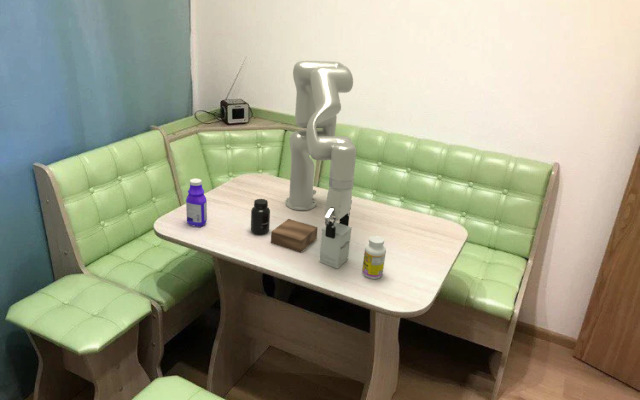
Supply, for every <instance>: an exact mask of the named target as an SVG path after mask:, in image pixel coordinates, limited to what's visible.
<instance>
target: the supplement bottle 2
mask: <svg viewBox="0 0 640 400" xmlns="http://www.w3.org/2000/svg"><path fill="white" fill-rule="evenodd" d="M384 244H385V239H384V238H383V237H381V236H378V235H371V236H370V237H369V239H368V243H367V244H366V245H365V246H364V253H363V255H364V256H363V263H362V270H361V272H362V273H361V274H363V276H364V277H366V278H368V279H372V280H375V279H377V280H378V279H379V278H381V277H382V276H383V274H384V273H383V272H384V266H385V261H386V260H385V259H386V252H387V248H386V247H385V245H384Z"/></svg>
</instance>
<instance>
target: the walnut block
mask: <svg viewBox="0 0 640 400" xmlns="http://www.w3.org/2000/svg"><path fill="white" fill-rule="evenodd" d="M317 237H318V226H314V225H312V224H311V225H310V224H308V223H304V222H301V221H298V220H295V219H291V218H288V219H286V220H285V221H283V222H282V223H281V224H280V225H278V226H276V227H275V228H274V229H272V231H271V232H270V244H272V245H275V246H278V247H282V248H284V249H288V250H291V251H294V252H297V253H302V252H303V251H304V250H306V249H307V248H308V247H309V246H311V244H312V243H314V242H315V241H316V240H317V239H318V238H317Z"/></svg>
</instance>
